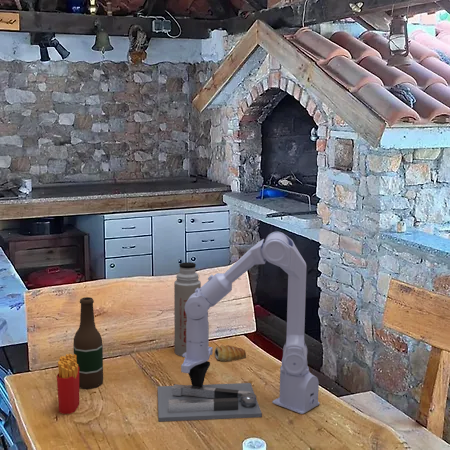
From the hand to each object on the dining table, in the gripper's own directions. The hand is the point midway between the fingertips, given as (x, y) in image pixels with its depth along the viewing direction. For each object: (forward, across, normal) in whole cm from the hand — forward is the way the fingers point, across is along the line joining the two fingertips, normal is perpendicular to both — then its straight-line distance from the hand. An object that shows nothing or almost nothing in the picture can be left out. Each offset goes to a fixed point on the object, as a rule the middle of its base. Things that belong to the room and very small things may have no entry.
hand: (197, 389), depth 169 cm
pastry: (+2, -29, -4) cm, 29 cm away
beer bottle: (+2, +5, -30) cm, 31 cm away
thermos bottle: (+2, -27, -17) cm, 32 cm away
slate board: (+2, +2, +4) cm, 5 cm away
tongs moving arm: (+1, +2, +6) cm, 6 cm away
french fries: (+2, +19, -26) cm, 33 cm away
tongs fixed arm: (+1, +8, +5) cm, 10 cm away
